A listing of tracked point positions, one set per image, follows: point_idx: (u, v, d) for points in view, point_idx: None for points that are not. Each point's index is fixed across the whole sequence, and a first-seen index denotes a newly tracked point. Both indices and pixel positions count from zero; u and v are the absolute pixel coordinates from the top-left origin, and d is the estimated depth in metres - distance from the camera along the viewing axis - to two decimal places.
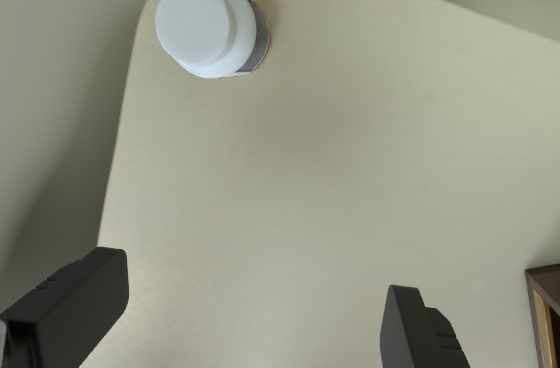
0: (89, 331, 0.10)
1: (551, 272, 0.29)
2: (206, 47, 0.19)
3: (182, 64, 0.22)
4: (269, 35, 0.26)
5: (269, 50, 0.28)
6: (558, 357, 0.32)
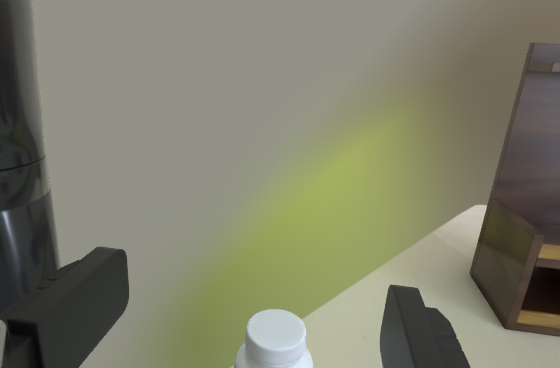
0: (89, 331, 0.10)
1: (501, 312, 0.43)
2: (296, 326, 0.25)
3: None
4: None
5: None
6: None
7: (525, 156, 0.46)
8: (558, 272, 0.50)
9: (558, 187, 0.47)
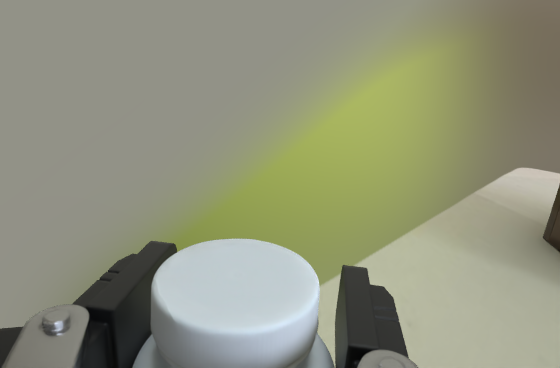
0: (149, 320, 0.11)
1: None
2: (292, 273, 0.09)
3: None
4: None
5: None
6: None
7: None
8: None
9: None
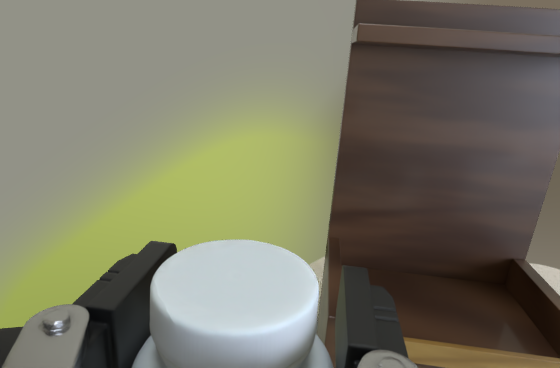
0: (149, 320, 0.11)
1: None
2: (291, 274, 0.09)
3: None
4: None
5: None
6: None
7: (365, 176, 0.30)
8: None
9: (419, 222, 0.31)
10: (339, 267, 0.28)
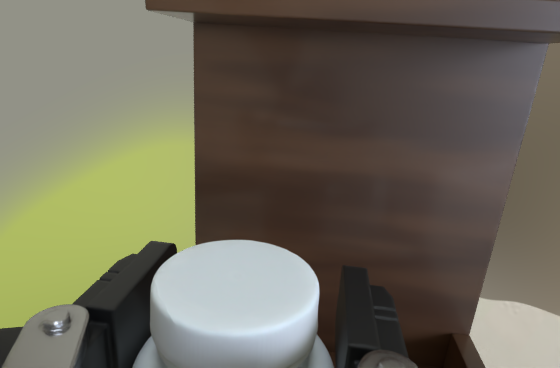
0: (148, 320, 0.11)
1: None
2: (292, 275, 0.09)
3: None
4: None
5: None
6: None
7: (236, 216, 0.21)
8: None
9: None
10: None
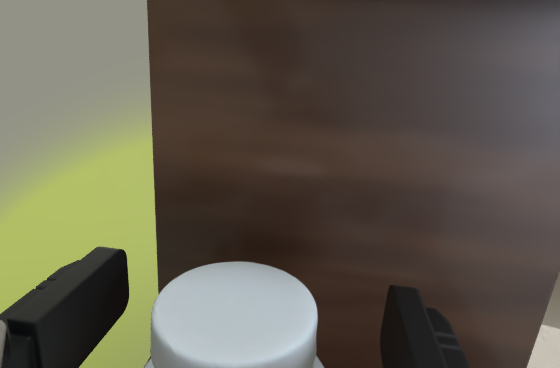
0: (89, 331, 0.10)
1: None
2: (290, 300, 0.09)
3: None
4: None
5: None
6: None
7: (209, 235, 0.16)
8: None
9: None
10: None
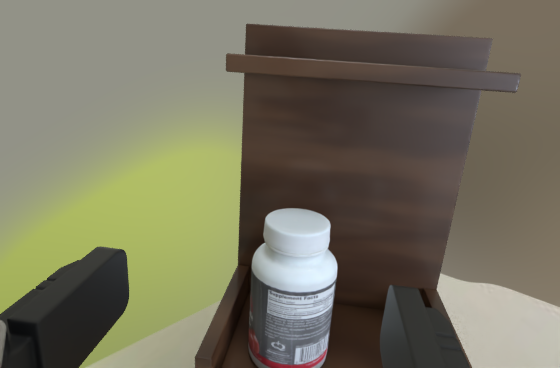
0: (89, 332, 0.10)
1: None
2: (319, 220, 0.23)
3: (315, 276, 0.22)
4: None
5: None
6: None
7: (269, 203, 0.30)
8: None
9: None
10: (233, 299, 0.27)
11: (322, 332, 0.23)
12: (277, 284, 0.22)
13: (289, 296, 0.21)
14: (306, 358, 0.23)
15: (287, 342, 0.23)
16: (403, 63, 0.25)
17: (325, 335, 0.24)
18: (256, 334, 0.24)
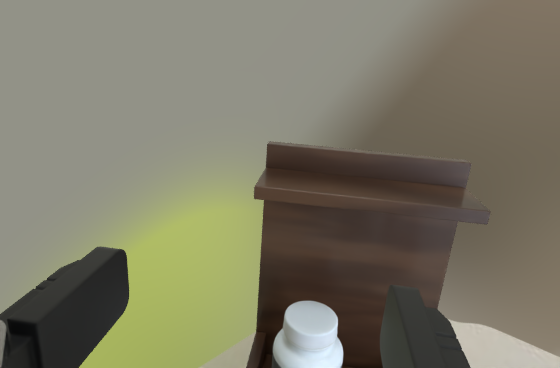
0: (89, 331, 0.10)
1: None
2: (328, 315, 0.28)
3: (326, 366, 0.27)
4: None
5: None
6: None
7: (284, 283, 0.35)
8: None
9: None
10: None
11: None
12: None
13: None
14: None
15: None
16: (398, 179, 0.30)
17: None
18: None
